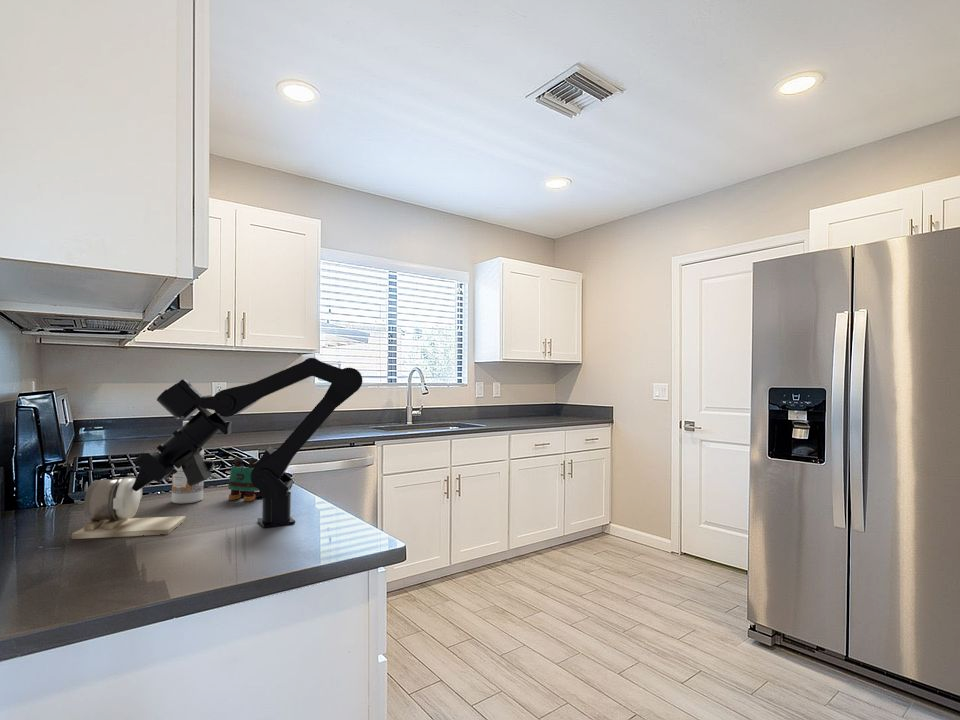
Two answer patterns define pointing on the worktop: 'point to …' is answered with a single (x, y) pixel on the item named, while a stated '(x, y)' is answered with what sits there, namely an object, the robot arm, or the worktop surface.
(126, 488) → the white oval slab
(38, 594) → the worktop surface
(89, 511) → the cylinder
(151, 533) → the birch board
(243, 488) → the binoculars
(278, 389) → the robot arm
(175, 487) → the bath foam
